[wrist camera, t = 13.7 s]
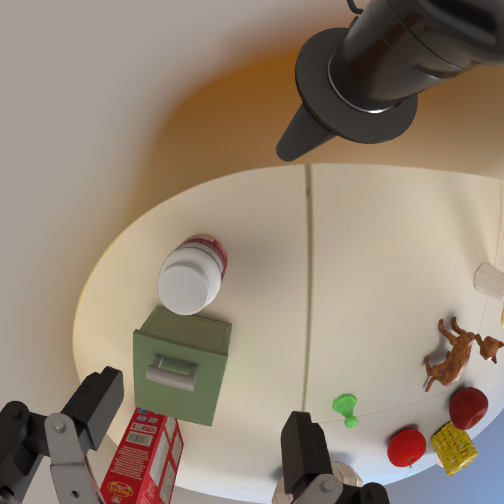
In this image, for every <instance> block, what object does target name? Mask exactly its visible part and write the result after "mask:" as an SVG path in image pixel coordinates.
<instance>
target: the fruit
mask: <svg viewBox="0 0 504 504" xmlns="http://www.w3.org/2000/svg"><path fill="white" fill-rule="evenodd" d="M425 451H426V440H425V437H424V435H423V434H422V433H421V432H419V431H418V430H415V429H406V430H403V431H401V432H400V433H398V434H397V435H395V436H394V437H393V438H392V439H391V441H390V443H389V445H388V449H387V454H388V458H389V460H390V462H391V463H392V464H393V465H395V466H397V467H407V466H409V465H410V468H411V464H413V463H414V462H416V461H417V460H418V459H420V458H421V457H422V456H423V454H424V453H425Z"/></svg>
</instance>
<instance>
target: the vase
mask: <svg viewBox="0 0 504 504" xmlns="http://www.w3.org/2000/svg"><path fill="white" fill-rule="evenodd" d="M330 462H331V466H332V471H333V474H334V476H336V477H338V478H339V479H340V480H341V482H342V483H344V484H347V485H352V486H358V487H363V481H362V480H361V478H360V477H359V476H358V474H357V473H356V472H355V471H354V469H353V468H351V467H350V466H349V465H347V464H345V463H343V462H339V461H330ZM292 500H293V495H292V494H285V490H284V477H283V476H282V477H281V479H280V481H279V482H278V484H277V486H276V489H275V491H274V495H273V498H272V504H289V503H290V502H291V501H292Z"/></svg>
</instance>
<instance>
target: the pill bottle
mask: <svg viewBox="0 0 504 504" xmlns="http://www.w3.org/2000/svg"><path fill="white" fill-rule="evenodd" d="M226 266H227V255H226V251H225V249H224V247H223V246H222V244H221V243H220V242H219V241H218V240H216V239H215V238H213V237H211V236H208V235H195V236H192V237H190V238H188V239H187V240H186V241H184V242H183V243H182V244H181V245H180V246H179V247H178V248H176V249H175V250H174V251H173V252H172V253H171V254H170V255H169V256H168V257H167V258H166V259H165V261H164V262H163V264H162V266H161V269H160V274H159V280H158V284H157V291H158V295H159V298H160V300H161V302H162V303H163V304H164V305H165V307H166V308H168V309H169V310H170V311H172V312H174V313H176V314H179V315H192V314H195V313H197V312H199V311H200V310H201V309H202V308H203V307H204V306H206V305H208V304H209V303H211V302H212V301H213V300H214V299H215V297H216V296H217V294H218V292H219V290H220V287H221V283H222V280H223V276H224V273H225V270H226Z"/></svg>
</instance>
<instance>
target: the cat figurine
mask: <svg viewBox="0 0 504 504" xmlns="http://www.w3.org/2000/svg"><path fill="white" fill-rule="evenodd" d="M451 326H452V329H453V330H454V331H455V332H456V333H457V334H459V335H460V336H458V337H455V336H454V335H452V334H451V333H449V332H447V331H446V330H445V327H444V325H443V319H441V320H440V322H439V330H440V332H441V333H442V334H443V335H444V336H445V337H446V338H448V340H449V342H450V344H451V345H454V347H453V349H452V351H451V353H450V351H448V352H447V354H446V360H445V361H444V362H443V363H442V364H439V365H434V366H433V367H430V364H429V362H428V359H429V357H427V358H426V360H425V364H426V370H427V374H428V376H433V377H432V378H431V379H430V381H429V382H428V385H427V387H426V390H425V392H427V391H428V390H429V388H430V386H431V384H432V383H433V381H434V380H438V381H439V382H440V383H441V384H442V385H444V386H449V385H451V384H453V383H454V382H456V381H457V380H458V379H459V377H460V375H461V374H462V372H463V370H464V368H465V366H466V364H467V363H468V360H469V357H470V352H471V347H472V344H473V341H474V340H475V339H476V341H477V343H478V345H479V346H480V355H481V356H482V357H483V358H484V359H485V360H490V359H491V360H492V361H493V362H494V363H495V364H496V363H497V361H496V352H497V350H498V348H501V347H503V346H504V343H503V342H501V341H498V340H496V339H494V338H492V337H490V336H487V337H486V338H485V339H484V341H482V339H481V337H480V335H479V334H476V335H475V334H474V333H472V332H466V331H465V330H463V329H460V328H459V327H458V325H457V323H456V317H453V318H452V321H451Z"/></svg>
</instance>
